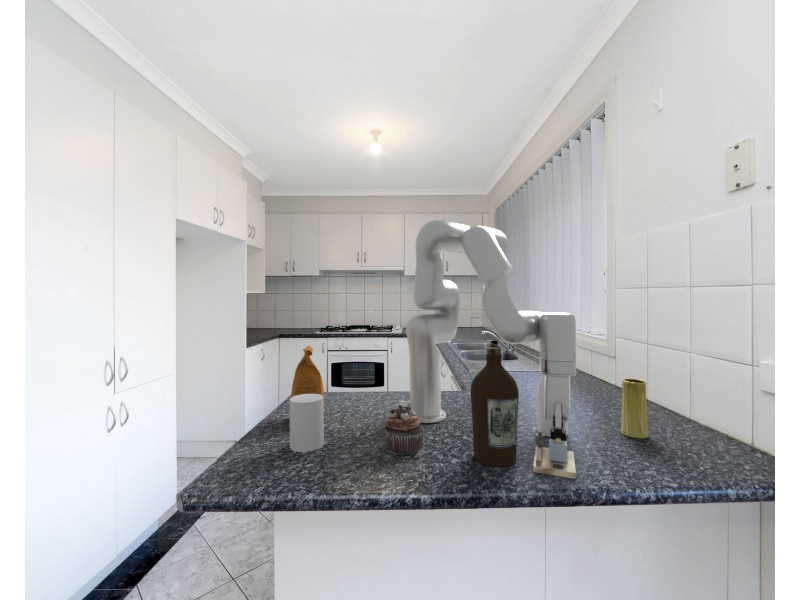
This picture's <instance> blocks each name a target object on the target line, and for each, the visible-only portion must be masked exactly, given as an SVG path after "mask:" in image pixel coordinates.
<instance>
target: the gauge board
mask: <svg viewBox="0 0 800 600" xmlns="http://www.w3.org/2000/svg"><path fill="white" fill-rule="evenodd" d="M535 444H536V446H535V449H534V450H535V451H534V458H533V466H532V467H533V470H532V471H533V473H540V474H545V475H551V476H555V477H561V478H568V479H574V480H577V472H576V464H575V463H576V462H575V455H574V451H573V450H567V451H568V463H564V462H558V461H551V460H549V447H544V446H545V436H544V434H542V432H540V431H539V432H538V431H537V432H536V433H535Z"/></svg>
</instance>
